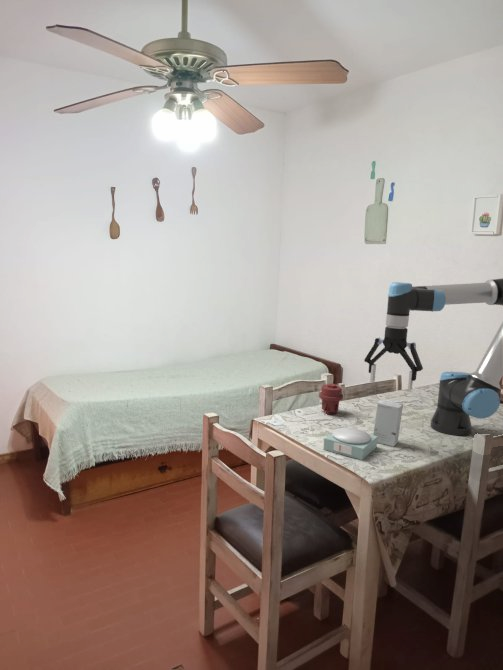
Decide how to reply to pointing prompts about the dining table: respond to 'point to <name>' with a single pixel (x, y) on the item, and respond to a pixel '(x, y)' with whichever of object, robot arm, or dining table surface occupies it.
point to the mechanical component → (330, 398)
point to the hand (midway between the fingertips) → (390, 385)
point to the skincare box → (387, 422)
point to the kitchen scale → (350, 442)
